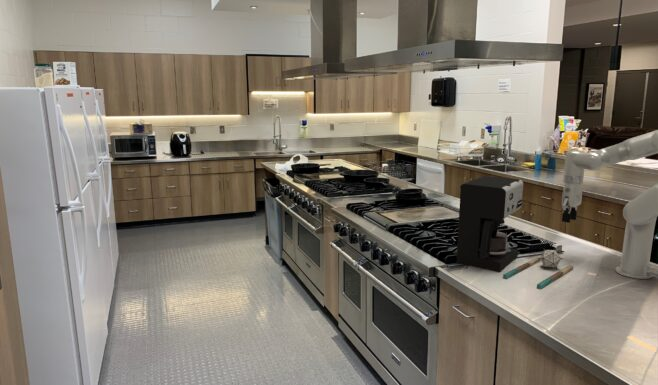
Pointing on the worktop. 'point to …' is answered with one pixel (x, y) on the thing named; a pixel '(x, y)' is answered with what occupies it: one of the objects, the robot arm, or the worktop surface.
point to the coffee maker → (487, 221)
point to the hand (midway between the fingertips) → (569, 220)
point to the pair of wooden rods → (544, 282)
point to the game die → (550, 258)
